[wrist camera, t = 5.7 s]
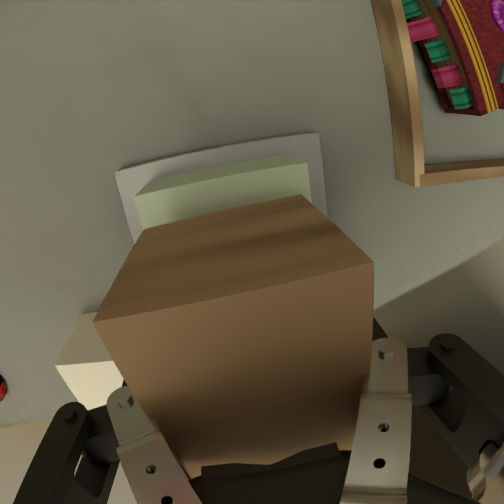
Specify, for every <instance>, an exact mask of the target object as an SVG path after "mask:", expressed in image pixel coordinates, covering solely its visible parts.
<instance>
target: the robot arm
mask: <svg viewBox="0 0 504 504" xmlns="http://www.w3.org/2000/svg"><path fill="white" fill-rule="evenodd" d="M412 405H418V406H419V407H420V408H421V409H422V411H423V412H424V413H425V414H426V415H427V417H428V418H429V419H430V420H431V421H432V423H433V424H434V425H435V426H436V427H437V429H438V430H439V431H440V432H441V434H442V435H443V436H444V437H445V438H446V440H447V441H448V442H449V443H450V445H451V446H452V447H453V448H454V449H455V451H456V452H457V453H458V454H459V455H460V457H461V458H462V459H463V461H464V462H465V463H466V464H467V466H468V467H469V468H470V469H469V471H468V475H467V481H468V485H469V488H470V490H471V492H472V495H473V498H472V499H470V498H468V497H465V496H463V495H460V494H457V493H455V492H452V491H450V490H448V489H445V488H443V487H440V486H438V485H436V484H433V483H431V482H429V481H427V480H424V479H422V478H420V477H418V476H415V475H413V474H411V473H409V472H408V470H409V457H410V440H411V439H410V438H411V406H412ZM81 455H82V459H81V461H80V464H79V466H78V469H77V472H76V474H75V477H74V472H75V468H76V466H77V463H78V461H79V458H80V456H81ZM119 462H121V465H122V467H123V470H124V472H125V475H126V477H127V480H128V482H129V485H130V487H131V489H132V492H133V494H134V496H135V499H136V501H137V503H138V504H504V376H503V375H502V374H501V373H500V372H499V371H498V370H497V369H496V368H495V367H493V366H492V365H491V364H490V363H489V362H488V361H486V360H485V359H484V358H483V357H482V356H481V355H480V354H479V353H477V352H476V351H475V350H474V349H473V348H472V347H470V346H469V345H468V344H467V343H466V342H464V341H463V340H462V339H461V338H460V337H458V336H456V335H453V334H447V333H446V334H439V335H436V336H435V337H433V338H432V340H431V341H430V343H429V347H422V348H406V346H405V345H404V344H403V343H402V342H400V341H399V340H397V339H393V338H389V337H388V336H387V335H386V333H385V332H384V330H383V329H382V328H381V326H380V325H379V324H378V322H377V321H376V319H375V318H374V317H373V335H372V354H371V368H370V374H366V375H364V379H363V387H362V393H361V399H360V406H359V412H358V419H357V425H356V430H355V436H354V441H353V447H352V450H339V449H338V446H337V443H336V442H334V443H331V444H327V445H323V446H319V447H315V448H311V449H307V450H303V451H301V452H299V453H296V454H294V455H292V456H290V457H287V458H285V459H283V460H280V461H278V462H276V463H273V464H269V465H262V464H244V463H228V464H220V465H210V466H201V475H200V476H197V477H195V478H193V477H192V475H191V474H190V472H189V471H188V469H187V467H186V466H185V464H184V462H183V461H182V459H181V457H180V456H179V454H178V453H177V451H174V450H173V448H172V447H171V445H170V444H169V442H168V440H167V438H166V437H165V435H164V433H163V431H162V429H161V427H160V425H159V423H158V422H157V420H156V418H155V417H154V415H153V414H150V415H146V414H145V412H144V411H143V409H142V407H141V406H140V404H139V403H138V401H137V400H136V398H135V397H134V395H133V393H132V392H131V390H130V389H129V387H128V385H127V384H126V382H125V380H123V383H122V387H120V388H118V389H116V390H115V391H113V392H112V393H111V394H110V396H109V397H108V399H107V402H106V405H103V406H100V407H97V408H94V409H90V410H87V409H86V407H85V406H84V405H83V404H81V403H79V402H70V403H67V404H65V405H63V406H62V407H61V408H60V409H59V410H58V411H57V412H56V414H55V416H54V418H53V420H52V422H51V423H50V426H49V427H48V429H47V431H46V433H45V435H44V437H43V439H42V441H41V444H40V445H39V448H38V449H37V452H36V454H35V456H34V458H33V460H32V462H31V464H30V466H29V468H28V471H27V473H26V475H25V477H24V479H23V482H22V484H21V486H20V489H19V491H18V493H17V495H16V498H15V500H14V503H13V504H107V501H108V498H109V495H110V491H111V488H112V485H113V481H114V478H115V475H116V472H117V469H118V465H119Z"/></svg>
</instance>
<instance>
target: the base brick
mask: <svg viewBox="0 0 504 504" xmlns="http://www.w3.org/2000/svg"><path fill="white" fill-rule="evenodd" d="M299 194H302V195H303V196H304V197H305V198H306V199H307V200H308V201H309V202H311V203H312V199H311V190H310V181H309V173H308V165H307V162H305V161H303V160H300V159H298V158H296V157H294V156H292V155H290V154H282V155H276V156H269V157H263V158H257V159H251V160H246V161H240V162H235V163H229V164H224V165H219V166H214V167H209V168H204V169H199V170H194V171H189V172H185V173H180V174H176V175H171V176H167V177H163V178H158V179H154V180H150V181H149V182H148V183H147V184H146V185H145V186H144V187H143V188H142V189H141V190H140V191H139V192H138V193H137V194H136V195H135V196H134V199H135V203H136V207H137V210H138V214H139V218H140V221H141V225H142V228H143V230H144V229H147V228H151V227H155V226H159V225H163V224H167V223H171V222H175V221H179V220H184V219H188V218H192V217H196V216H201V215H205V214H209V213H214V212H218V211H223V210H227V209H232V208H236V207H241V206H246V205H250V204H255V203H260V202H265V201H270V200H274V199H279V198H284V197H289V196H294V195H299Z"/></svg>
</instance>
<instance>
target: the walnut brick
mask: <svg viewBox="0 0 504 504" xmlns="http://www.w3.org/2000/svg"><path fill="white" fill-rule="evenodd" d="M373 301H374V266H373V261H372V260H371V259H370V258H369V257H368V256H367V255H366V254H365V253H364V252H363V251H362V250H361V249H360V248H359V247H358V246H357V245H356V244H355V243H354V242H353V241H351V240H350V239H349V238H348V237H347V236H346V235H345V234H344V233H343V232H342V231H341V230H340V229H339V228H338V227H337V226H336V225H335V224H333V223H332V222H331V221H330V220H329V219H328V218H327V217H326V216H325V215H324V214H323V213H322V212H320V211H319V210H318V209H317V208H316V207H315V206H314V205H313V204H312V203H311V202H309V201H308V200H307V199H306V198H305V197H304V196H303V195H302V194H299V195H294V196H289V197H284V198H279V199H274V200H270V201H265V202H260V203H255V204H250V205H246V206H241V207H236V208H232V209H227V210H223V211H218V212H214V213H209V214H205V215H201V216H196V217H192V218H188V219H184V220H179V221H175V222H171V223H167V224H163V225H159V226H155V227H151V228H147V229H144V230H143V232H142V233H141V235H140V237H139V238H138V240H137V242H136V243H135V245H134V247H133V248H132V250H131V252H130V254H129V255H128V257H127V259H126V261H125V262H124V264H123V266H122V268H121V269H120V271H119V273H118V275H117V277H116V278H115V280H114V282H113V284H112V286H111V288H110V290H109V291H108V293H107V295H106V297H105V299H104V301H103V303H102V305H101V307H100V309H99V310H98V312H97V314H96V316H95V318H94V320H93V324H94V326H95V328H96V330H97V332H98V334H99V336H100V337H101V339H102V341H103V343H104V345H105V347H106V349H107V351H108V352H109V354H110V356H111V358H112V360H113V361H114V363H115V365H116V367H117V368H118V370H119V372H120V374H121V375H122V377H123V379H124V380H125V382H126V384H127V385H128V387H129V389H130V390H131V392H132V393H133V395H134V397H135V398H136V400H137V401H138V403H139V404H140V406H141V407H142V409H143V411H144V412H145V414H146V415H150V414H153V415H154V417H155V418H156V420H157V422H158V423H159V425H160V427H161V429H162V431H163V433H164V435H165V437H166V438H167V440H168V442H169V444H170V445H171V447H172V448H173V450H174V451H177V453H178V454H179V456H180V457H181V459H182V461H183V462H184V464H185V466H186V467H187V469H188V471H189V472H190V474H191V475H192V477H193V478H195V477H197V476H200V475H201V466H210V465H220V464H228V463H244V464H262V465H269V464H273V463H276V462H278V461H280V460H283V459H285V458H287V457H290V456H292V455H294V454H296V453H299V452H301V451H303V450H307V449H311V448H315V447H319V446H323V445H327V444H331V443H334V442H336V443H337V446H338V449H339V450H352V447H353V441H354V436H355V430H356V425H357V419H358V412H359V406H360V399H361V393H362V387H363V379H364V375H366V374H370V368H371V354H372V335H373Z"/></svg>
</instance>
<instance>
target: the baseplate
mask: <svg viewBox="0 0 504 504" xmlns="http://www.w3.org/2000/svg"><path fill="white" fill-rule="evenodd" d="M282 154H290V155H292V156H294V157H296V158H298V159H300V160H303V161H305V162H307V165H308V173H309V181H310V190H311V199H312V204H313V205H314V206H315V207H316V208H317V209H318V210H319V211H320V212H322V213H323V214H324V215H325V216H326V217H327V218H328V213H327V202H326V191H325V181H324V172H323V162H322V154H321V146H320V138H319V132H306V133H298V134H290V135H283V136H276V137H269V138H262V139H256V140H250V141H244V142H238V143H233V144H227V145H222V146H217V147H212V148H207V149H202V150H197V151H192V152H187V153H183V154H178V155H174V156H170V157H165V158H161V159H157V160H153V161H149V162H145V163H141V164H137V165H133V166H130V167H126V168H122V169H119V170H118V171H116V172H114V173H115V177H116V181H117V185H118V189H119V193H120V196H121V200H122V204H123V208H124V211H125V215H126V218H127V222H128V225H129V229H130V232H131V236H132V239H133V242H134V245H135V243H136V242H137V240H138V238H139V237H140V235H141V233H142V232H143V228H142V225H141V221H140V218H139V214H138V210H137V207H136V203H135V199H134V196H135V195H136V194H137V193H138V192H139V191H140V190H141V189H142V188H143V187H144V186H145V185H146V184H147V183H148V182H149V181H150V180H154V179H158V178H163V177H167V176H171V175H176V174H180V173H185V172H189V171H194V170H199V169H204V168H209V167H214V166H219V165H224V164H229V163H235V162H240V161H246V160H251V159H257V158H263V157H269V156H276V155H282Z"/></svg>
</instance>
